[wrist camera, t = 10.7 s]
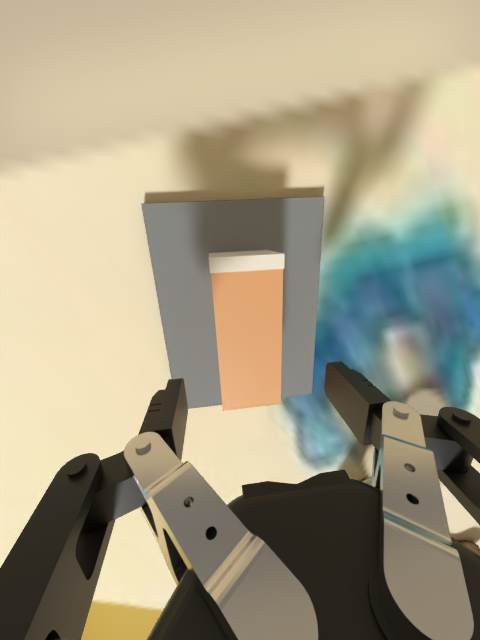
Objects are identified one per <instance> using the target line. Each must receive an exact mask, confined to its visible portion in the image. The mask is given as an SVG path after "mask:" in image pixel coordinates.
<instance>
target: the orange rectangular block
mask: <svg viewBox="0 0 480 640" xmlns="http://www.w3.org/2000/svg"><path fill="white" fill-rule="evenodd" d="M284 260H285V254H284V253H279V252H275V251H271V250H255V251H236V252H218V253H209V268H210V273H211V280H212V292H213V303H214V315H215V326H216V338H217V349H218V361H219V372H220V384H221V395H222V407H223V411H224V410H233V409H241V408H250V407H258V406H267V405H275V404H281V363H282V307H283V269H284Z"/></svg>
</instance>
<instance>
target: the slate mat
mask: <svg viewBox="0 0 480 640" xmlns="http://www.w3.org/2000/svg"><path fill="white" fill-rule="evenodd" d="M141 205H142V210H143V216H144V222H145V228H146V233H147V239H148V245H149V251H150V257H151V262H152V268H153V274H154V280H155V285H156V291H157V297H158V303H159V308H160V314H161V320H162V326H163V332H164V337H165V343H166V349H167V355H168V360H169V366H170V372H171V378H172V379H179V378H183V379H184V384H185V390H186V397H187V405H188V409H190V408H198V407H206V406H215V405H222V395H221V384H220V372H219V361H218V349H217V338H216V326H215V315H214V303H213V292H212V280H211V273H210V268H209V253H218V252H236V251H255V250H271V251H275V252H279V253H284V254H285V260H284V269H283V307H282V363H281V398H282V397H291V396H299V395H307V394H312V381H313V365H314V350H315V334H316V319H317V303H318V288H319V272H320V257H321V241H322V226H323V211H324V197H302V198H276V199H249V200H223V201H197V202H170V203H144V204H141Z"/></svg>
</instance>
